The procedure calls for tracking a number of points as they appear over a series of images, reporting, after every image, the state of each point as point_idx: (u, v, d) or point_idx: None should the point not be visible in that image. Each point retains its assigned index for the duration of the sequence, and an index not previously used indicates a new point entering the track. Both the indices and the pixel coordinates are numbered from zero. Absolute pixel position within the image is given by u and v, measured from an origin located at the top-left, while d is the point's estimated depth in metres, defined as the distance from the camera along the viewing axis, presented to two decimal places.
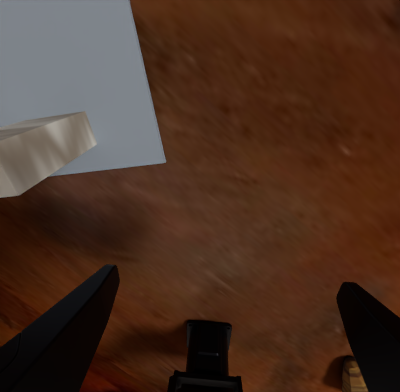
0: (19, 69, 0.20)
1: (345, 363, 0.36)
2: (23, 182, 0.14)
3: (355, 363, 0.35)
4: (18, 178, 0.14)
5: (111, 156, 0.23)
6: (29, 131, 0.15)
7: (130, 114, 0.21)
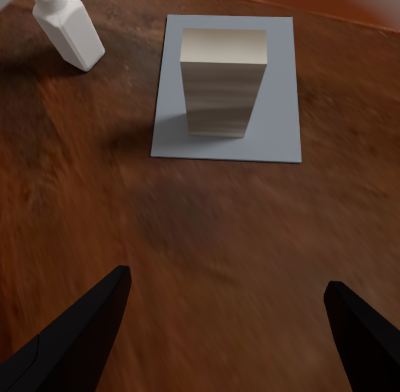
0: None
1: None
2: None
3: None
4: None
5: (253, 149, 0.25)
6: None
7: (279, 121, 0.26)
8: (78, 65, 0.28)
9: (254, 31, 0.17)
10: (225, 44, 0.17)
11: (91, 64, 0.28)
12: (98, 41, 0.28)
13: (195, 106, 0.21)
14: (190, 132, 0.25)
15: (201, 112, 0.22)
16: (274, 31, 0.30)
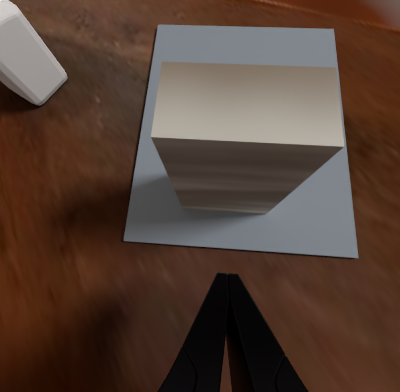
0: None
1: None
2: None
3: None
4: None
5: (280, 233, 0.16)
6: None
7: (321, 188, 0.17)
8: (25, 98, 0.19)
9: (310, 70, 0.08)
10: (249, 98, 0.08)
11: (46, 95, 0.20)
12: (54, 63, 0.19)
13: (189, 187, 0.12)
14: (184, 206, 0.17)
15: (200, 192, 0.13)
16: (309, 49, 0.21)
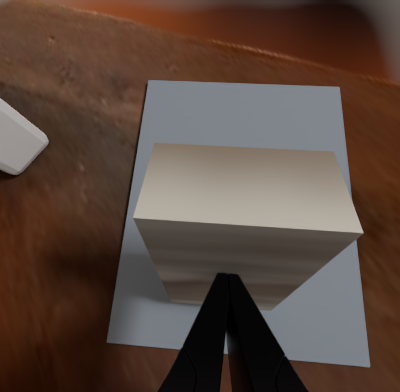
0: None
1: None
2: None
3: None
4: None
5: (282, 335, 0.15)
6: None
7: (327, 279, 0.15)
8: (1, 169, 0.18)
9: (308, 154, 0.08)
10: (247, 179, 0.07)
11: (24, 165, 0.18)
12: (33, 133, 0.17)
13: (178, 277, 0.10)
14: (173, 299, 0.14)
15: (191, 283, 0.11)
16: (313, 111, 0.19)
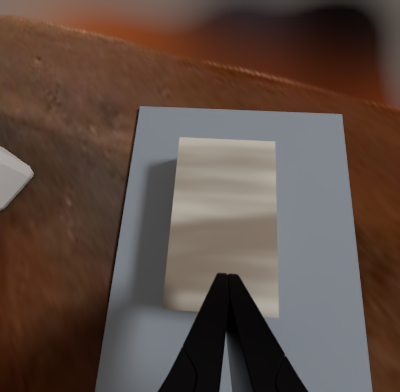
0: None
1: None
2: None
3: None
4: None
5: None
6: None
7: (330, 328, 0.14)
8: None
9: None
10: None
11: (7, 200, 0.17)
12: (15, 168, 0.16)
13: (186, 214, 0.14)
14: (166, 295, 0.12)
15: (194, 227, 0.13)
16: (314, 140, 0.18)
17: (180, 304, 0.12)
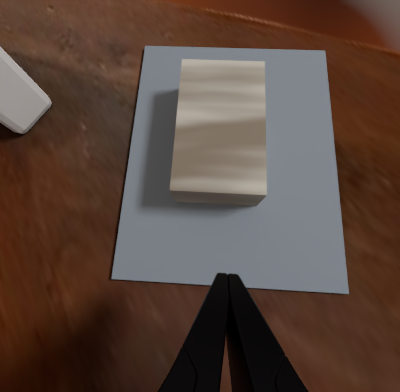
0: None
1: None
2: None
3: None
4: None
5: (271, 269, 0.16)
6: None
7: (312, 220, 0.17)
8: (8, 127, 0.19)
9: None
10: None
11: (29, 124, 0.19)
12: (37, 92, 0.18)
13: (188, 118, 0.16)
14: (173, 180, 0.15)
15: (196, 129, 0.16)
16: (300, 72, 0.20)
17: (184, 186, 0.15)
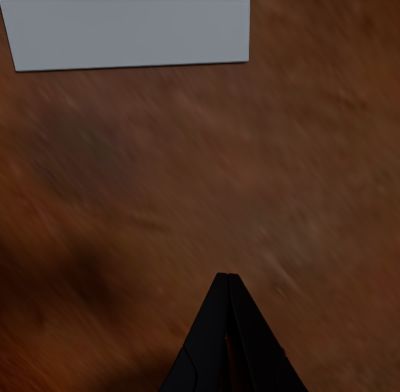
0: None
1: None
2: None
3: None
4: None
5: (172, 42, 0.16)
6: None
7: None
8: None
9: None
10: None
11: None
12: None
13: None
14: None
15: None
16: None
17: None
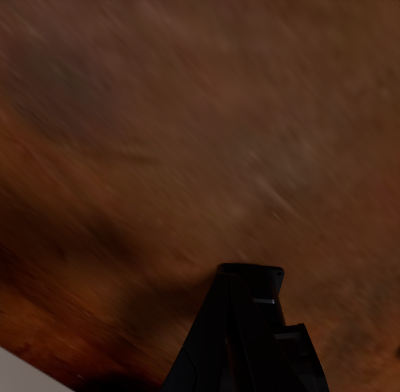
0: None
1: None
2: None
3: None
4: None
5: None
6: None
7: None
8: None
9: None
10: None
11: None
12: None
13: None
14: None
15: None
16: None
17: None
